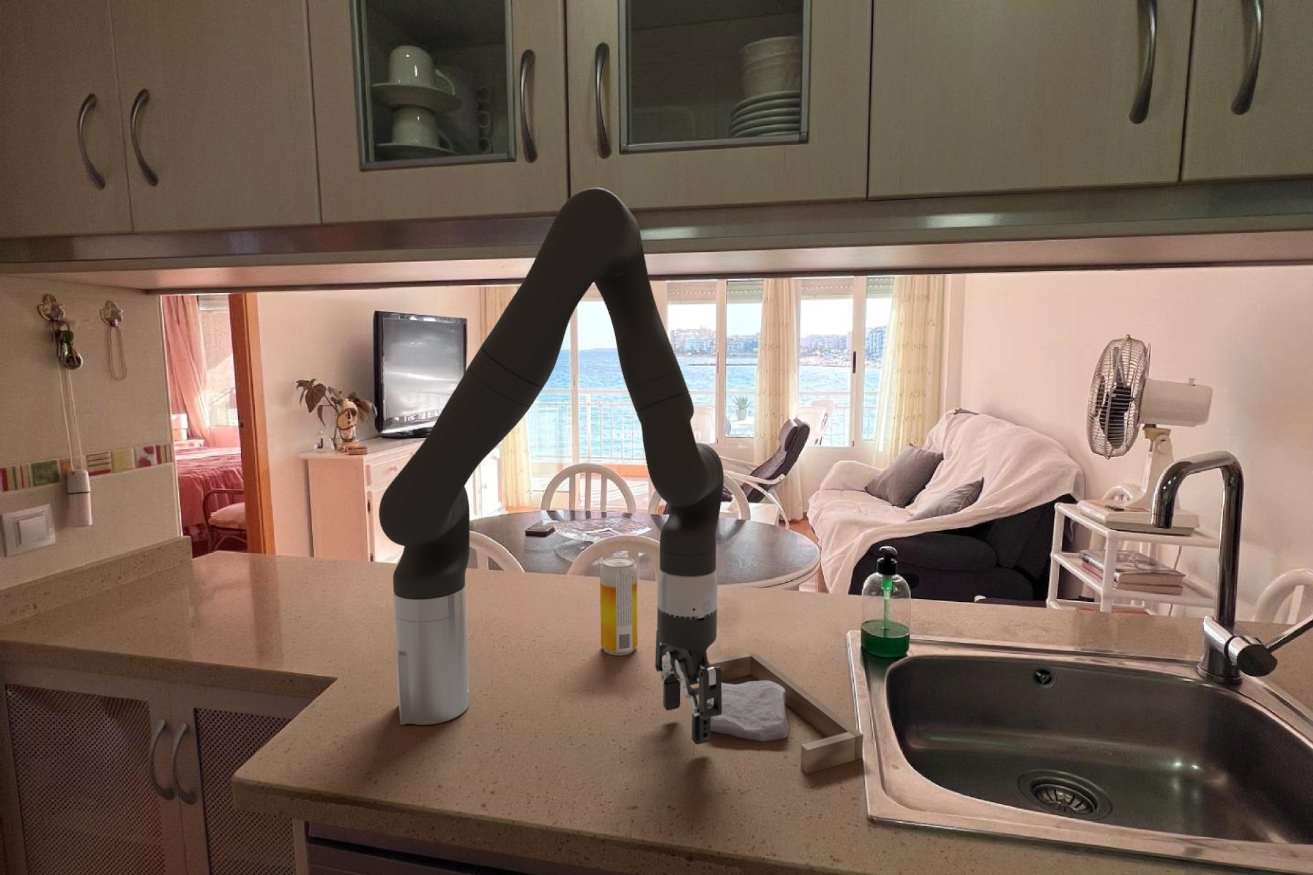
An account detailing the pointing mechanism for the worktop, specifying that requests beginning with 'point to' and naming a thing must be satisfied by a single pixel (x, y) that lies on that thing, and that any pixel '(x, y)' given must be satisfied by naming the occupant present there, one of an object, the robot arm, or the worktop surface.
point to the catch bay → (801, 713)
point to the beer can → (618, 605)
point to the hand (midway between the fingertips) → (685, 724)
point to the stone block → (752, 711)
